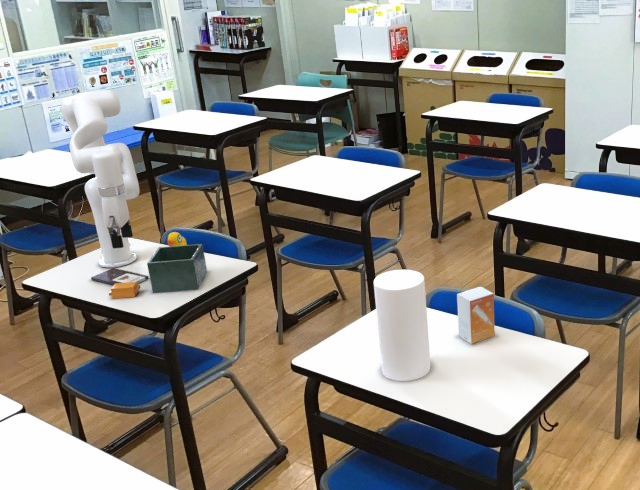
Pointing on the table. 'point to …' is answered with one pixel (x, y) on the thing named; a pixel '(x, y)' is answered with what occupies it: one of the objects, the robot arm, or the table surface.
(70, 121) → the robot arm
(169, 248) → the bin
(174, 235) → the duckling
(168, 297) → the table surface
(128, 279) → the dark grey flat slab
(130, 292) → the packet
